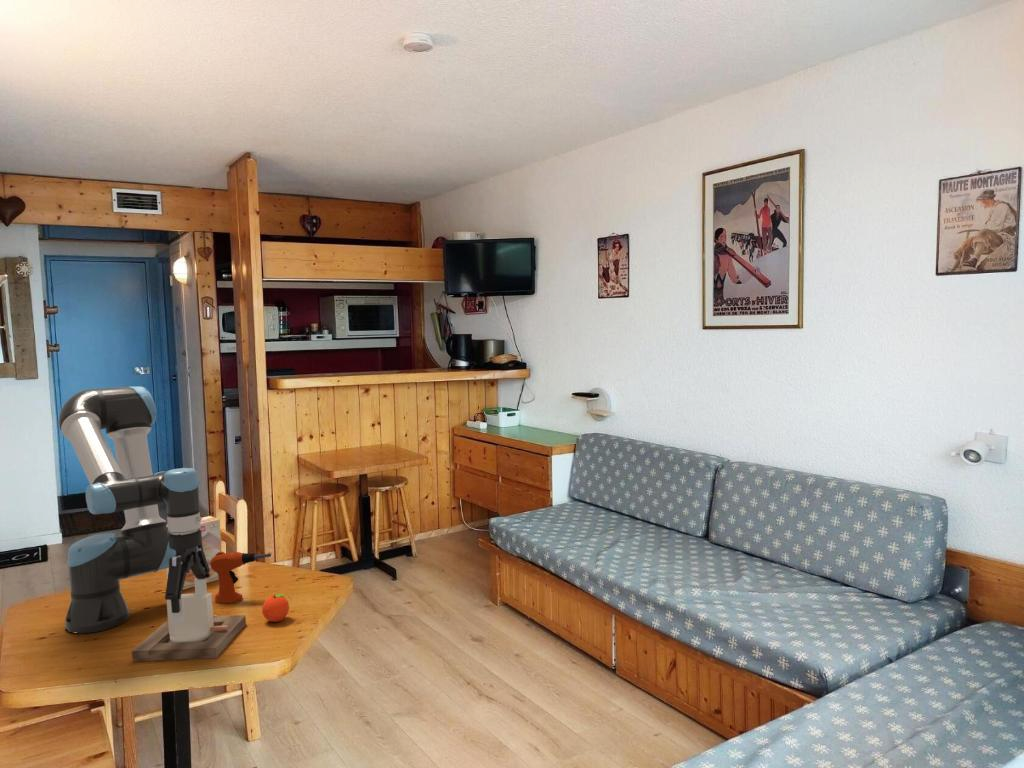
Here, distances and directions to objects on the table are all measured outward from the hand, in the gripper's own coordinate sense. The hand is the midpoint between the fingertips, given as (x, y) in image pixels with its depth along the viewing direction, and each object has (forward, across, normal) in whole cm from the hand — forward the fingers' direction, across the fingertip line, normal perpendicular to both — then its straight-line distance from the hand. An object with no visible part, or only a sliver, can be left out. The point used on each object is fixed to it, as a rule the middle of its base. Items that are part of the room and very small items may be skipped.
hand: (190, 613), depth 182 cm
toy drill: (+7, +28, -3) cm, 29 cm away
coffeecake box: (+7, +45, +18) cm, 49 cm away
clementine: (+8, +12, -18) cm, 23 cm away
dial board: (+7, 0, 0) cm, 7 cm away
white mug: (+6, 0, -2) cm, 7 cm away
